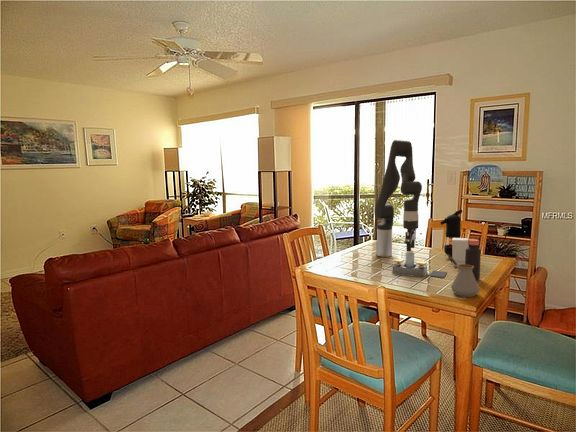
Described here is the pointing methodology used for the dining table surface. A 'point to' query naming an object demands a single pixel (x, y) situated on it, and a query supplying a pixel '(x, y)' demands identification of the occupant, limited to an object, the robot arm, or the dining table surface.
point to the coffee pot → (464, 280)
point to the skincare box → (459, 250)
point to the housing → (409, 270)
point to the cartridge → (409, 259)
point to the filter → (452, 229)
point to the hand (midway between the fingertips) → (410, 249)
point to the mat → (438, 274)
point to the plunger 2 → (421, 263)
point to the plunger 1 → (398, 261)
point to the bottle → (473, 257)
